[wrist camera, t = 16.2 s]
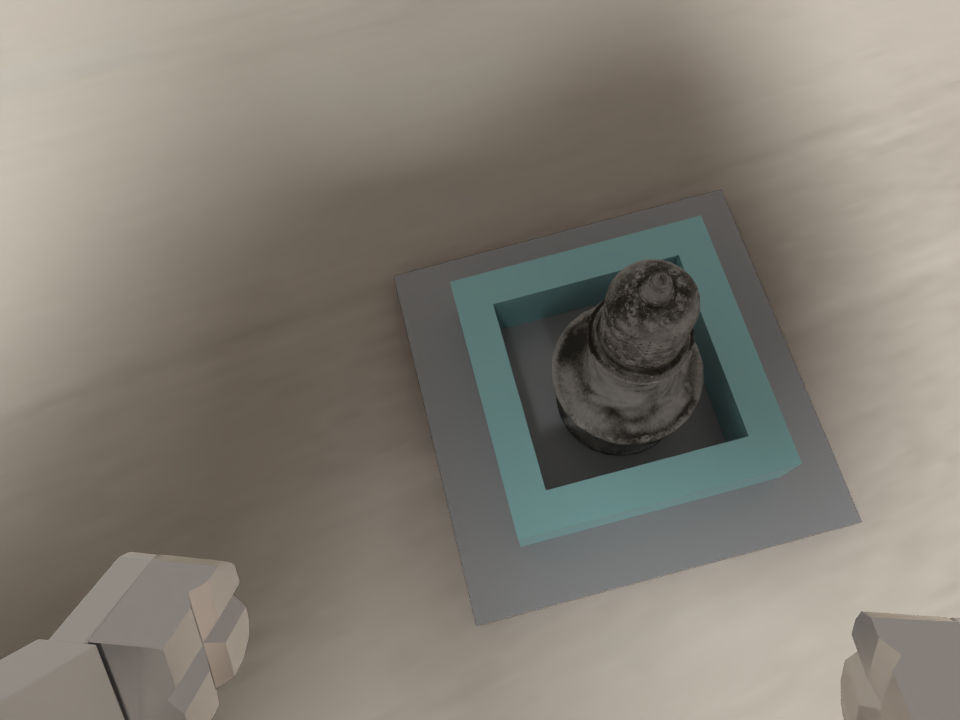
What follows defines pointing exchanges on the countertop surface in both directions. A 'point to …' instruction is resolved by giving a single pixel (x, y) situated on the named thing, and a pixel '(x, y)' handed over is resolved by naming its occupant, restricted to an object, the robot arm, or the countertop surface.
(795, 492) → the socket
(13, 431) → the countertop surface
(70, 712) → the robot arm
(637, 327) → the salt shaker
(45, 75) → the countertop surface
